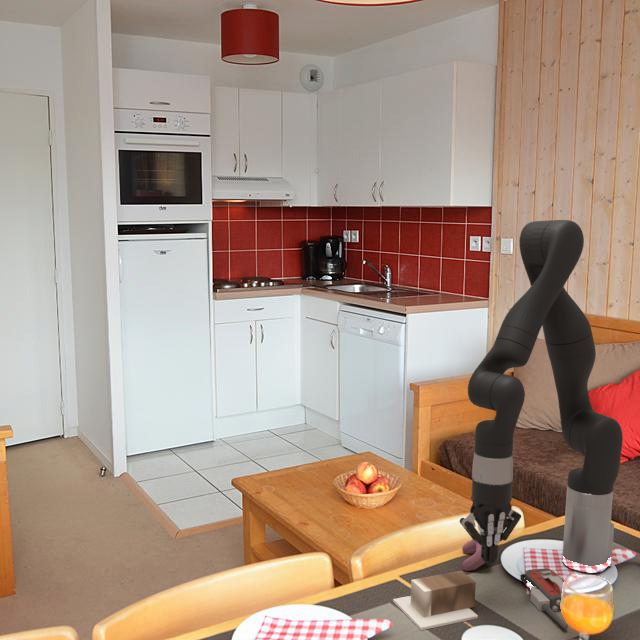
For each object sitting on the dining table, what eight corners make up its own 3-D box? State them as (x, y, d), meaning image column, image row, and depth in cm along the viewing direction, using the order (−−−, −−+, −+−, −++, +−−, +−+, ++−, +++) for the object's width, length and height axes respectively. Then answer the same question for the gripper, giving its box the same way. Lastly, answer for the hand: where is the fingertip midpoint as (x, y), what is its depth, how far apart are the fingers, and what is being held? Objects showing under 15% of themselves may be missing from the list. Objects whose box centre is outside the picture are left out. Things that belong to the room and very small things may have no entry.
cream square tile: (446, 591, 157) (446, 588, 157) (477, 618, 147) (477, 615, 147) (392, 601, 152) (392, 599, 152) (420, 630, 142) (421, 627, 142)
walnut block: (461, 570, 154) (411, 579, 150) (475, 582, 149) (424, 591, 145) (460, 594, 155) (410, 604, 150) (474, 606, 150) (423, 617, 146)
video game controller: (479, 580, 165) (496, 553, 163) (459, 569, 165) (476, 542, 164) (478, 559, 174) (494, 534, 173) (460, 549, 175) (476, 523, 173)
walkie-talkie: (510, 583, 162) (560, 635, 142) (511, 562, 161) (561, 612, 142) (549, 579, 163) (604, 630, 144) (550, 558, 163) (605, 607, 143)
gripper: (509, 465, 156) (506, 548, 159) (451, 473, 151) (449, 559, 154) (533, 478, 149) (529, 564, 152) (473, 487, 144) (470, 576, 147)
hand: (488, 561), depth 153 cm, fingers closed
